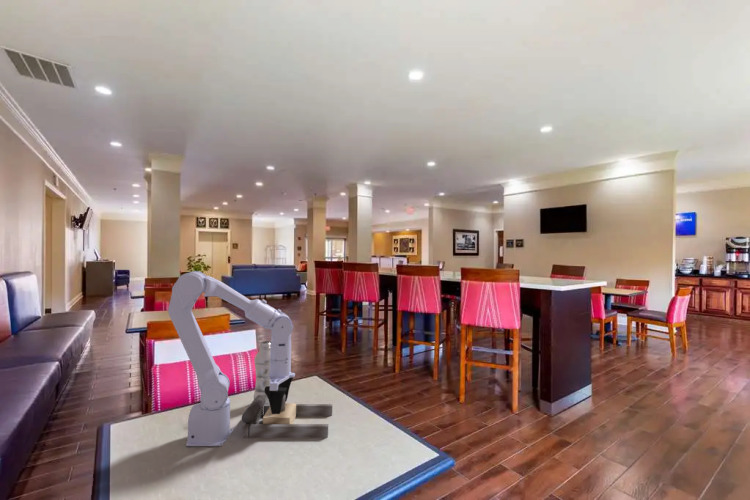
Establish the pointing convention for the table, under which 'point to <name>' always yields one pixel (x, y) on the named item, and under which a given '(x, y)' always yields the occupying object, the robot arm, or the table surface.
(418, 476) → the table surface
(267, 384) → the plastic bottle
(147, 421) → the table surface
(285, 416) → the tan wooden block
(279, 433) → the bay
